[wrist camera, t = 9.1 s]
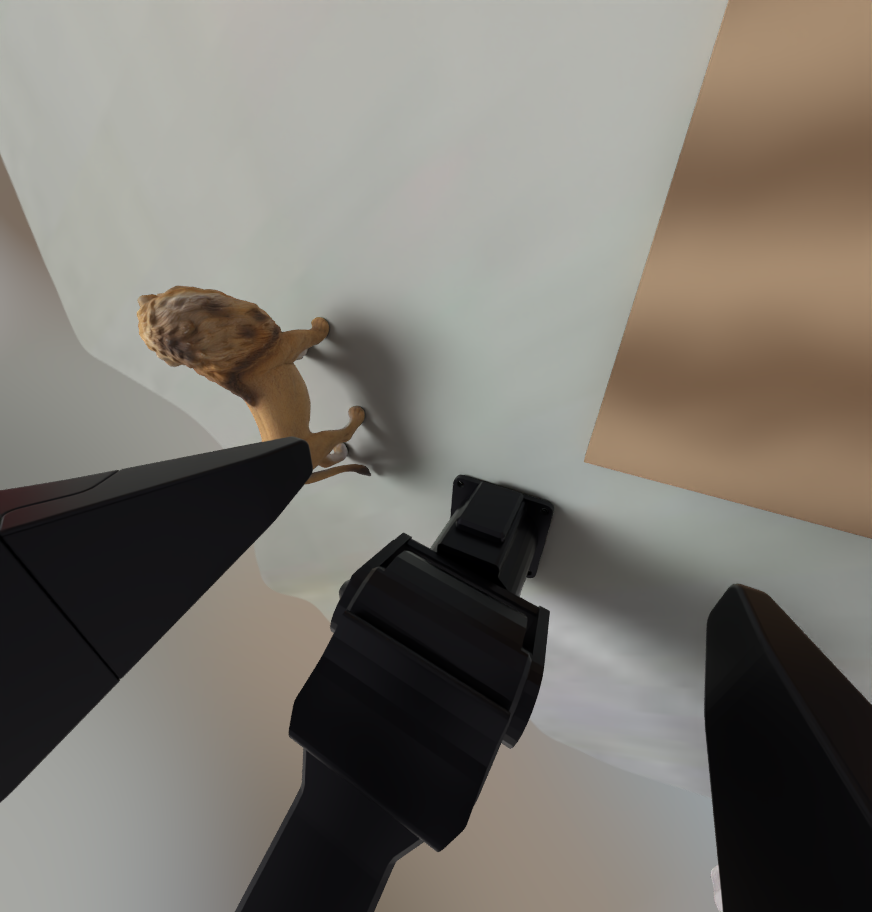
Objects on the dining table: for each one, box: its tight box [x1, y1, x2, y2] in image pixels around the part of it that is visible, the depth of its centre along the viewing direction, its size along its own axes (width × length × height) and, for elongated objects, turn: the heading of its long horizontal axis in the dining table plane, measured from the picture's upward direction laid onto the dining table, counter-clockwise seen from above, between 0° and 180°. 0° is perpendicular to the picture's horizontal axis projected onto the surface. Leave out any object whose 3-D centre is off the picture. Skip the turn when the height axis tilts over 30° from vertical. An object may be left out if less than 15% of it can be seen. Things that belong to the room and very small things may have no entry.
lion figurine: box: [137, 286, 371, 484], centre depth 22 cm, size 15×5×9 cm, turn 27°
